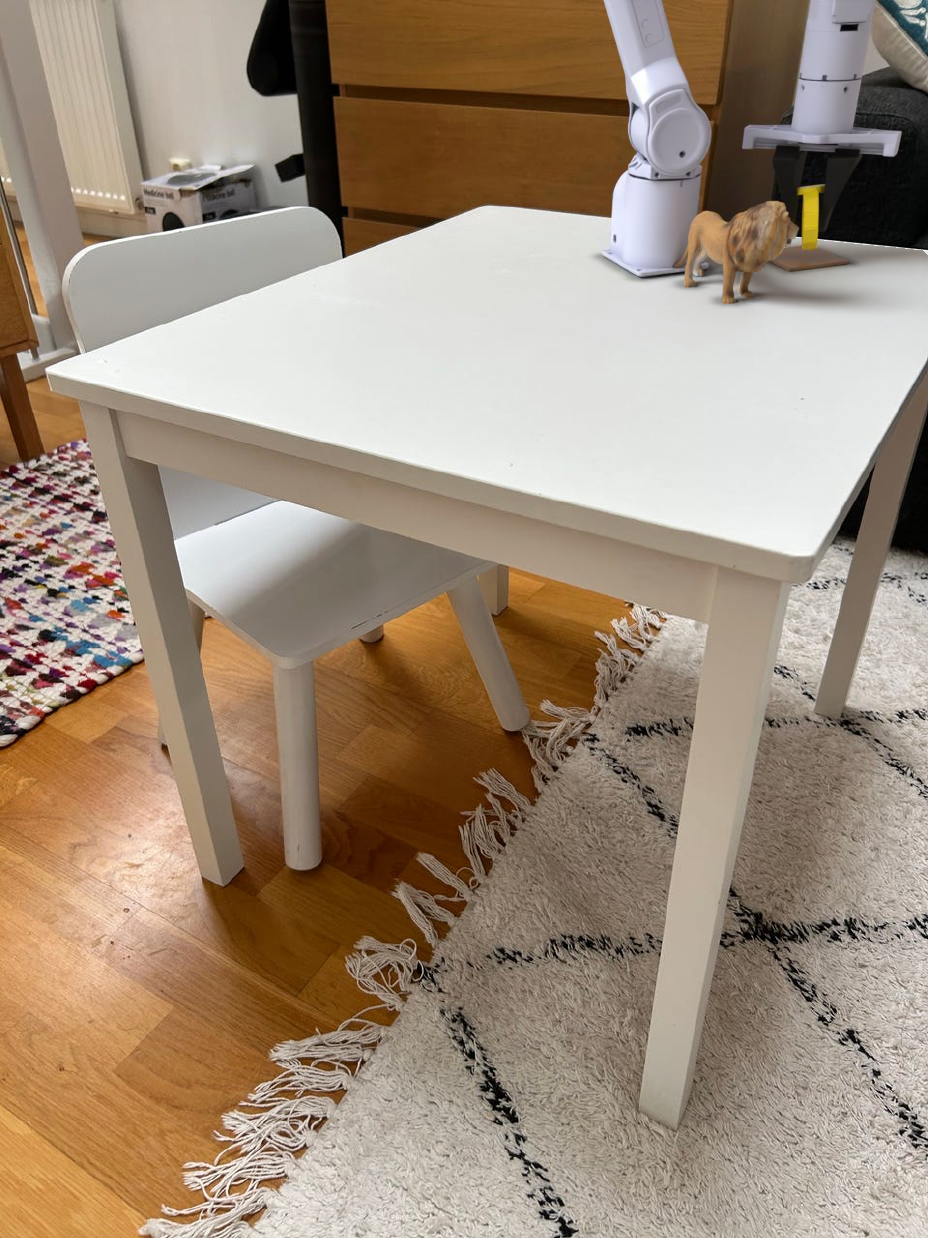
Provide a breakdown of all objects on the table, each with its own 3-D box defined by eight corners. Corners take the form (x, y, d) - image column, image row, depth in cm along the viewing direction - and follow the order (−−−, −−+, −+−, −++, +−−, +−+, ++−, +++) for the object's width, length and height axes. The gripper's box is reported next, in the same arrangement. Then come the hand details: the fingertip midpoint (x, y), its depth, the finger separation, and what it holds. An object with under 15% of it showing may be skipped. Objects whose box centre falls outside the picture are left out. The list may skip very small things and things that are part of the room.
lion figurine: (795, 304, 89) (812, 200, 83) (753, 315, 86) (768, 209, 81) (686, 269, 99) (696, 175, 94) (646, 278, 97) (654, 182, 92)
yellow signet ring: (794, 248, 102) (795, 187, 99) (822, 245, 101) (824, 183, 99) (795, 251, 96) (796, 187, 94) (824, 248, 96) (827, 183, 93)
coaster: (752, 254, 102) (752, 251, 102) (809, 247, 104) (810, 244, 104) (789, 271, 97) (789, 268, 97) (849, 263, 98) (849, 260, 98)
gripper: (742, 80, 91) (724, 231, 99) (905, 84, 85) (872, 244, 93) (761, 72, 96) (742, 216, 104) (916, 75, 90) (884, 227, 98)
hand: (804, 228), depth 99 cm, fingers closed on yellow signet ring, 3 cm apart
